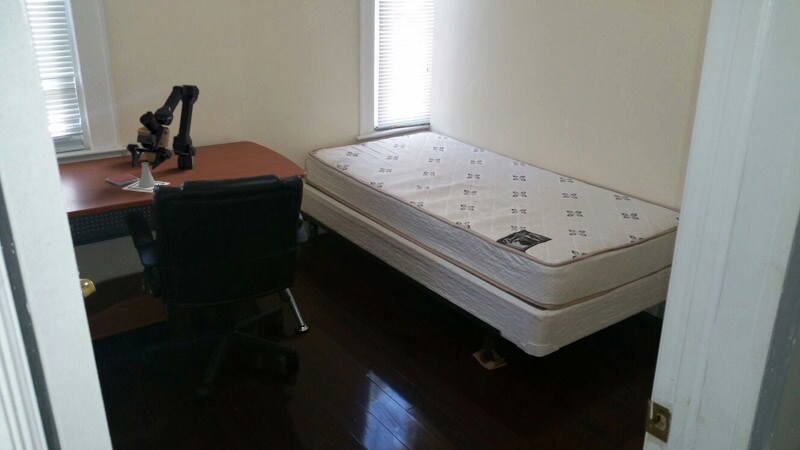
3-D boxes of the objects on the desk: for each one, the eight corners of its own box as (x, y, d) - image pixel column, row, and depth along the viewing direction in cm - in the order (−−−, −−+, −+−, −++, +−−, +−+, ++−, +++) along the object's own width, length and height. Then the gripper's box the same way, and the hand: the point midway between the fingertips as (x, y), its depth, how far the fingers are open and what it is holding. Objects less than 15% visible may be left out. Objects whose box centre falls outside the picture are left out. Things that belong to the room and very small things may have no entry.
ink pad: (127, 176, 289) (127, 173, 289) (139, 181, 284) (139, 177, 283) (106, 180, 282) (105, 177, 281) (118, 185, 276) (117, 182, 276)
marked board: (141, 180, 284) (141, 179, 284) (170, 183, 282) (170, 182, 281) (122, 189, 272) (121, 188, 271) (151, 192, 269) (151, 191, 269)
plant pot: (163, 165, 308) (159, 132, 302) (134, 163, 310) (130, 130, 304) (178, 158, 321) (175, 126, 316) (150, 155, 324) (147, 124, 318)
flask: (158, 186, 276) (156, 163, 273) (141, 188, 272) (138, 166, 269) (153, 182, 282) (150, 159, 278) (136, 184, 277) (133, 162, 274)
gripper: (126, 125, 273) (113, 156, 267) (165, 128, 269) (153, 160, 263) (139, 139, 283) (126, 169, 277) (177, 142, 279) (165, 174, 273)
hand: (142, 168), depth 272 cm, fingers open, 9 cm apart
